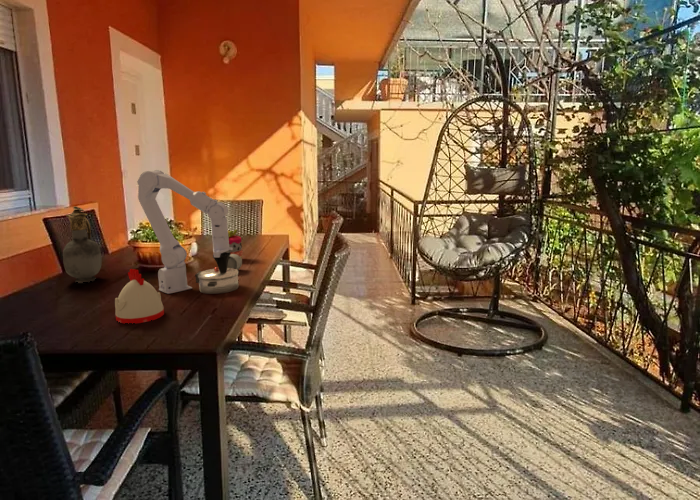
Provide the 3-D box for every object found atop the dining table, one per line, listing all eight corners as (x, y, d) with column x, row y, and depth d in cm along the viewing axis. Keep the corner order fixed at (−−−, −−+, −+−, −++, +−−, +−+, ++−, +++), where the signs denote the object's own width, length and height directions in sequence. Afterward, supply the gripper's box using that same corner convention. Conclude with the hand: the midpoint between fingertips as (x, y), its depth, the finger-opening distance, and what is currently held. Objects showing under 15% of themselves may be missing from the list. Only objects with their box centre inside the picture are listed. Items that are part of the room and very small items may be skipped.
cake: (215, 262, 223) (213, 230, 220) (227, 257, 233) (225, 227, 230) (235, 263, 220) (233, 231, 217) (247, 258, 230) (245, 227, 227)
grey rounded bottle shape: (63, 286, 186) (52, 209, 180) (81, 274, 205) (71, 204, 199) (93, 285, 188) (83, 208, 182) (108, 273, 206) (100, 203, 200)
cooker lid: (191, 280, 172) (190, 275, 171) (202, 270, 186) (202, 265, 186) (233, 279, 172) (232, 273, 171) (242, 269, 186) (241, 264, 186)
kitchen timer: (150, 306, 160) (145, 262, 157) (172, 314, 152) (168, 268, 149) (107, 317, 150) (101, 270, 147) (129, 327, 141) (123, 277, 138)
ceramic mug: (243, 269, 209) (242, 251, 207) (238, 274, 201) (236, 255, 199) (219, 269, 210) (218, 252, 208) (213, 274, 202) (211, 256, 200)
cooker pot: (189, 296, 170) (188, 282, 169) (205, 281, 190) (204, 269, 189) (231, 295, 170) (230, 282, 169) (243, 280, 190) (242, 268, 189)
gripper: (226, 239, 169) (229, 277, 172) (235, 232, 183) (238, 267, 186) (206, 240, 169) (209, 277, 172) (217, 233, 183) (220, 268, 186)
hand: (223, 272), depth 179 cm, fingers closed, pressing on cooker lid
